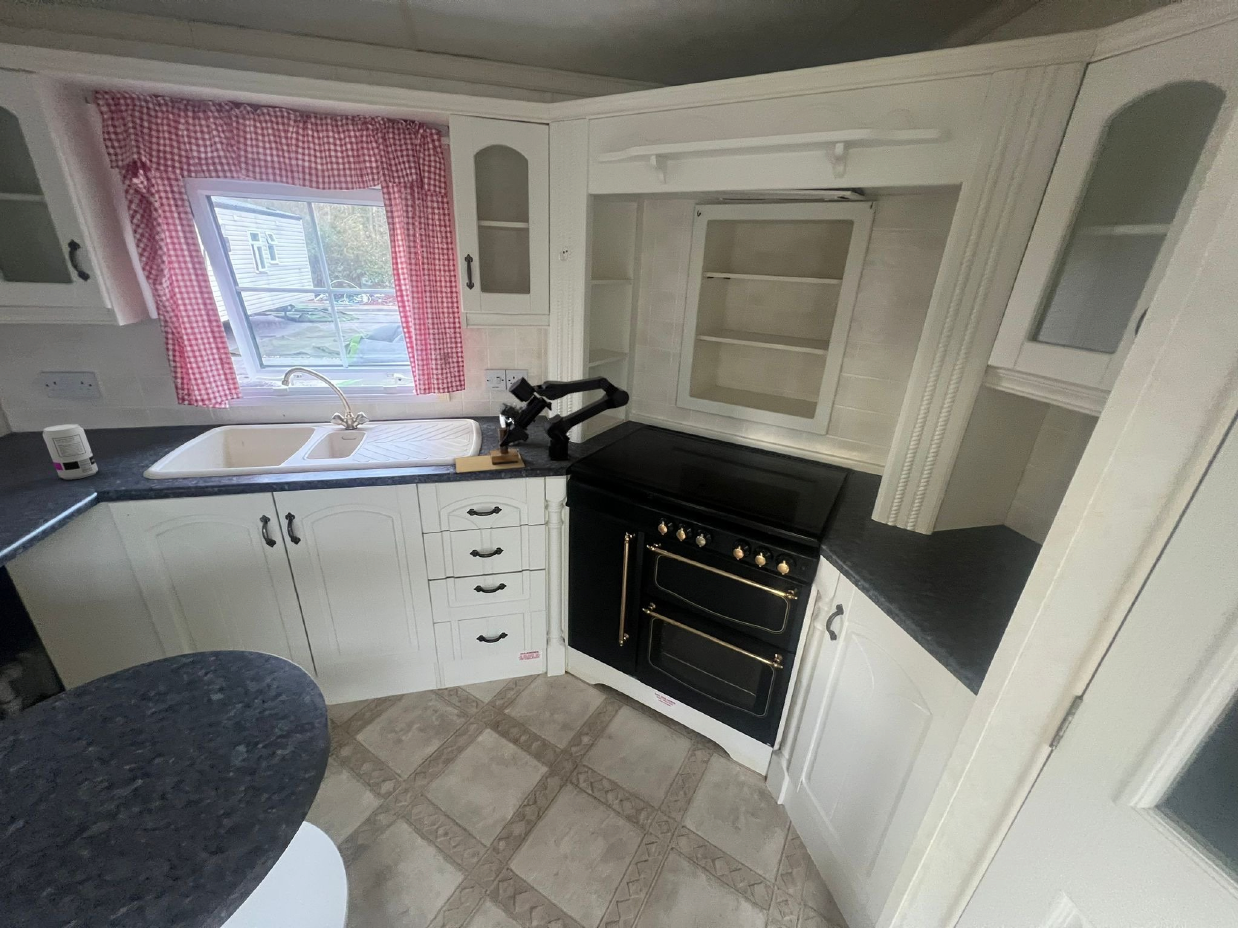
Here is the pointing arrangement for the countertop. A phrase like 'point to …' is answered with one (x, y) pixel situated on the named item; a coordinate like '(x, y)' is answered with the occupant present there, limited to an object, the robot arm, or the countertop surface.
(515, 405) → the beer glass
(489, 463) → the cork mat
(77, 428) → the supplement can
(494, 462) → the wooden rubber stamp
